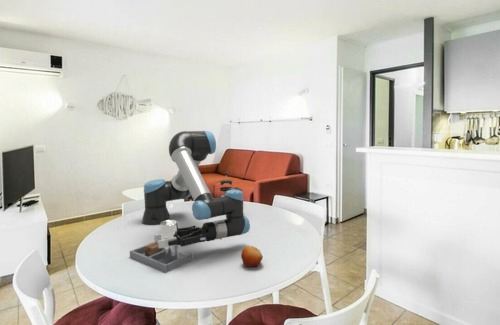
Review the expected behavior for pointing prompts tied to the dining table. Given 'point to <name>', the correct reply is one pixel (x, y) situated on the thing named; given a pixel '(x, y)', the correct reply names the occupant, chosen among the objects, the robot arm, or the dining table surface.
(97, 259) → the dining table surface
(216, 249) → the dining table surface
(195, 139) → the robot arm
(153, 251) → the walnut block
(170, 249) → the beer glass
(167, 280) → the dining table surface
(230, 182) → the french press
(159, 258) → the tray
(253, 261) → the fruit
